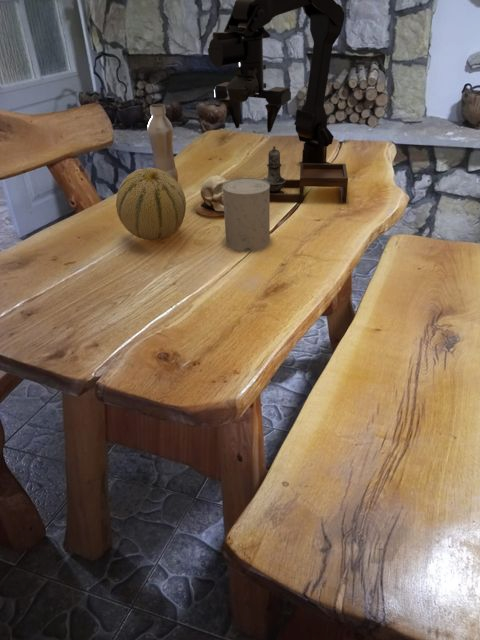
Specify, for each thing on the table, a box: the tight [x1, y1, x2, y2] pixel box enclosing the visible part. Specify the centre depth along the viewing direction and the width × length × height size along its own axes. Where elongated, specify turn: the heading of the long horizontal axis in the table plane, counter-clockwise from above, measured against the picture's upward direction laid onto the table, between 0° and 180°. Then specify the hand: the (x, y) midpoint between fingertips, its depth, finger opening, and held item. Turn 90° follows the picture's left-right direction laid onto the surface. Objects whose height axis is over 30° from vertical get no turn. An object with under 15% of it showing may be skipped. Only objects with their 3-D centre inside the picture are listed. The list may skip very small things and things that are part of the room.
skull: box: [194, 175, 228, 217], centre depth 131 cm, size 12×10×10 cm
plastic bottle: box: [146, 103, 179, 183], centre depth 139 cm, size 6×7×20 cm
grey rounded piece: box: [262, 145, 286, 193], centre depth 136 cm, size 6×6×12 cm
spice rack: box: [261, 162, 349, 204], centre depth 138 cm, size 23×11×6 cm, turn 86°
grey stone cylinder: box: [222, 177, 271, 253], centre depth 114 cm, size 10×10×12 cm
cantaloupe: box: [115, 167, 187, 242], centre depth 115 cm, size 15×15×15 cm
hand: (253, 129), depth 139 cm, fingers open, 9 cm apart
